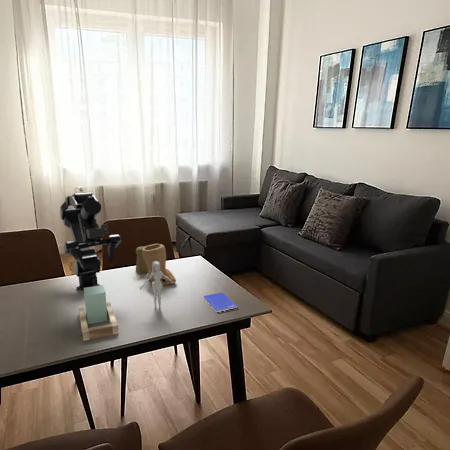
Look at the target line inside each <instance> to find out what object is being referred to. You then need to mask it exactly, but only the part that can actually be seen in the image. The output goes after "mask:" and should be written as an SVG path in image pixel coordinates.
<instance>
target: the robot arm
mask: <svg viewBox="0 0 450 450" xmlns="http://www.w3.org/2000/svg"><path fill="white" fill-rule="evenodd" d="M70 206H72V207H70ZM59 210H60V211H59V214H60V215H59V216H60V220H61V221H62V222H63V225H64V226H66V227H67V228H69V229H70V233H71V237H72V239H73V240H67V241H65V243H64V245H63V251H64V254H67V255H69V256H72V257H73V258H74V259H75V262H74V267H73V270H74V274H75V275H76V277H78V284H79V285H78V286H76V290H80V291H83V292H84V288H86V287H93V286H100V285H101V284H100V283H98V276H97V274H98V273H101V263H102V261H101V260H100V258H99V257H98V255H97V253H96V250H95V249H94V248H90V247H98V246H103V245H104V246H105V245H106V246H107V248H106V250H107V255H108V256H107V257H108V261H109V264H110V266H111V265H113V261H114V253H115V249H116V248H117V247H118V246H119V245H120V243H121V242H122V236H121V235H119V234H111V235H108V236H107V238H104V237H105V234H110V233H109V226H108V223H107V224H100V226H99V223H98V220H97V218H98V217H99V214H100V212H101V210H102V204H101V202H100V201H99V200H98V199H97V198H96V196H95V194H93V193H92V192H91V191H88V192H87V191H86V192H74V193H73V194H72V195H67V196H65V201H64V202H63V203H62V204H61V205H60V209H59Z"/></svg>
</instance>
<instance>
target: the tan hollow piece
mask: <svg viewBox="0 0 450 450" xmlns="http://www.w3.org/2000/svg"><path fill="white" fill-rule="evenodd" d="M143 247H144V248H143V249H142V253H143V258H144V260H145V262H146V264H147V266H148V269H149V272H147V277H148V278H149V276H150V275H151V273H152V263H153V262H155V261H158V262H160V271H161V272H162V273H163V274H164V276H167V277H168V278H169V279H170V280H171V281H172V282H173V283H176V282H177V279H176V277H175V276H174V274H173V272H171V270H169V269H168V268H166V265H167V262H166V261H167V251H166V247H165V245H164V244H162V243H153V244H149V245H145V246H143ZM161 276H162V278H161V279H160V281H161V283H162V286H167V285H169V286H170V285H171V284H173V283H172V282H171V281H170V280H168V279H167V278H165V277H164V276H163V275H161ZM149 281H151V284H152V283H153V282H155V279H154V278H153V276H152V277H151V278H150V279H149Z"/></svg>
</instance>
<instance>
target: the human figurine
mask: <svg viewBox="0 0 450 450" xmlns="http://www.w3.org/2000/svg"><path fill="white" fill-rule="evenodd" d="M161 275H163V276H164V274H163V273H162V272H161V271H160V262H158V261H155V262H153V263H152V273H151V275H150V276H149V277H148V279H145V281H144V283H143V284H142V285H141V286H140V287H139V290H140V291H141V290H142V289H143V288H144V286H145V285H147V283H148V282H149V281H150V278H151V277H152V276H153V278H154V279H155V282H153V283H152V282H151V289H152V294H153V295H154V297H153V304H154V309H156V310H157V308H158V311H159V312H160V313H163V311H162V309H161V303H162V302H161V300H162V293H163V285H162V283H161V281H160V279H161V278H162V276H161ZM164 277H165V278H167V279H168V280H170V279H169V278H168V277H167V276H164ZM170 281H171V280H170ZM171 282H172V281H171ZM172 284H173V282H172ZM157 301H158V306H157Z"/></svg>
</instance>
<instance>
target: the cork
mask: <svg viewBox="0 0 450 450" xmlns="http://www.w3.org/2000/svg"><path fill="white" fill-rule="evenodd" d="M144 247H145V246H138V247H136V249H135V254H136V255H137V256H136V263H135V264H136V265H135V273H137V274H148V272H149V269H148V266H147V264H146V262H145V260H144V258H143V253H142V249H143V248H144Z"/></svg>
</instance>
